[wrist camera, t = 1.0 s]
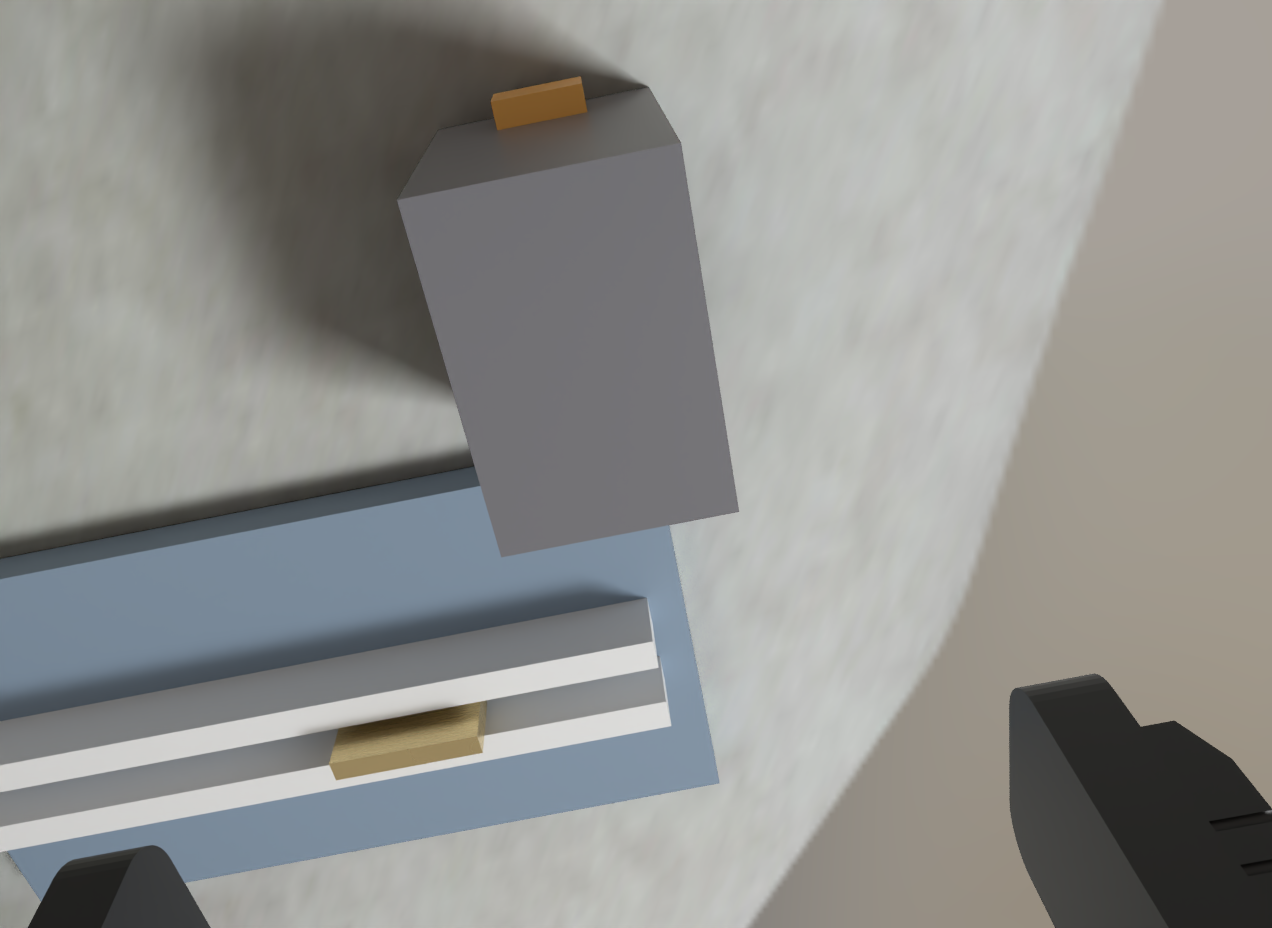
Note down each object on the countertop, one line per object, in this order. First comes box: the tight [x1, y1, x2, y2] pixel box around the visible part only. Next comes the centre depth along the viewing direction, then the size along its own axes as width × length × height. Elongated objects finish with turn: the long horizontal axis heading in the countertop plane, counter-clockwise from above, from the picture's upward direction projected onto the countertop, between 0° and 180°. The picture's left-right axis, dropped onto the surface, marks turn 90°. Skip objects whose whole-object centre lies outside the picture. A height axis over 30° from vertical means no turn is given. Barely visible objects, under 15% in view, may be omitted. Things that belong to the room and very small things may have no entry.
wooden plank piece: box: [329, 700, 487, 780], centre depth 28 cm, size 1×4×2 cm, turn 100°
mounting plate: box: [0, 466, 719, 901], centre depth 30 cm, size 12×22×3 cm, turn 100°
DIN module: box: [397, 76, 739, 557], centre depth 22 cm, size 8×5×7 cm, turn 10°
